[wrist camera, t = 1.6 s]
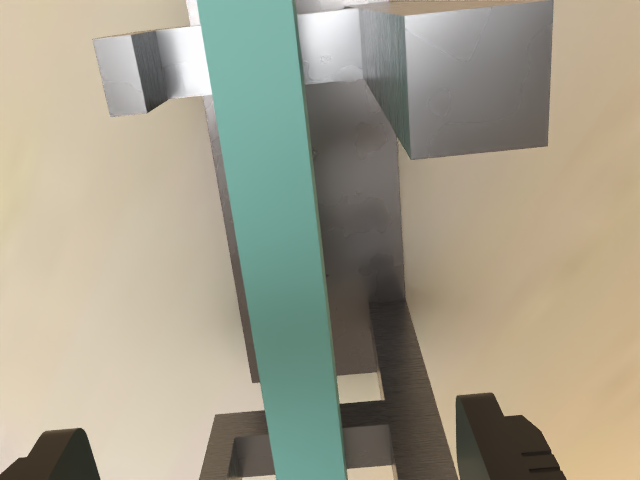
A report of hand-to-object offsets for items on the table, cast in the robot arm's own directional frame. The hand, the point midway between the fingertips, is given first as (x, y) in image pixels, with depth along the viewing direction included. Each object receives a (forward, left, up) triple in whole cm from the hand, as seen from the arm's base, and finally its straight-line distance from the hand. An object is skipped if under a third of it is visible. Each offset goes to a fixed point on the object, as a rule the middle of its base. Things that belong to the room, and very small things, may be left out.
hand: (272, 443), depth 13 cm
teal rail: (0, 0, -8) cm, 8 cm away
